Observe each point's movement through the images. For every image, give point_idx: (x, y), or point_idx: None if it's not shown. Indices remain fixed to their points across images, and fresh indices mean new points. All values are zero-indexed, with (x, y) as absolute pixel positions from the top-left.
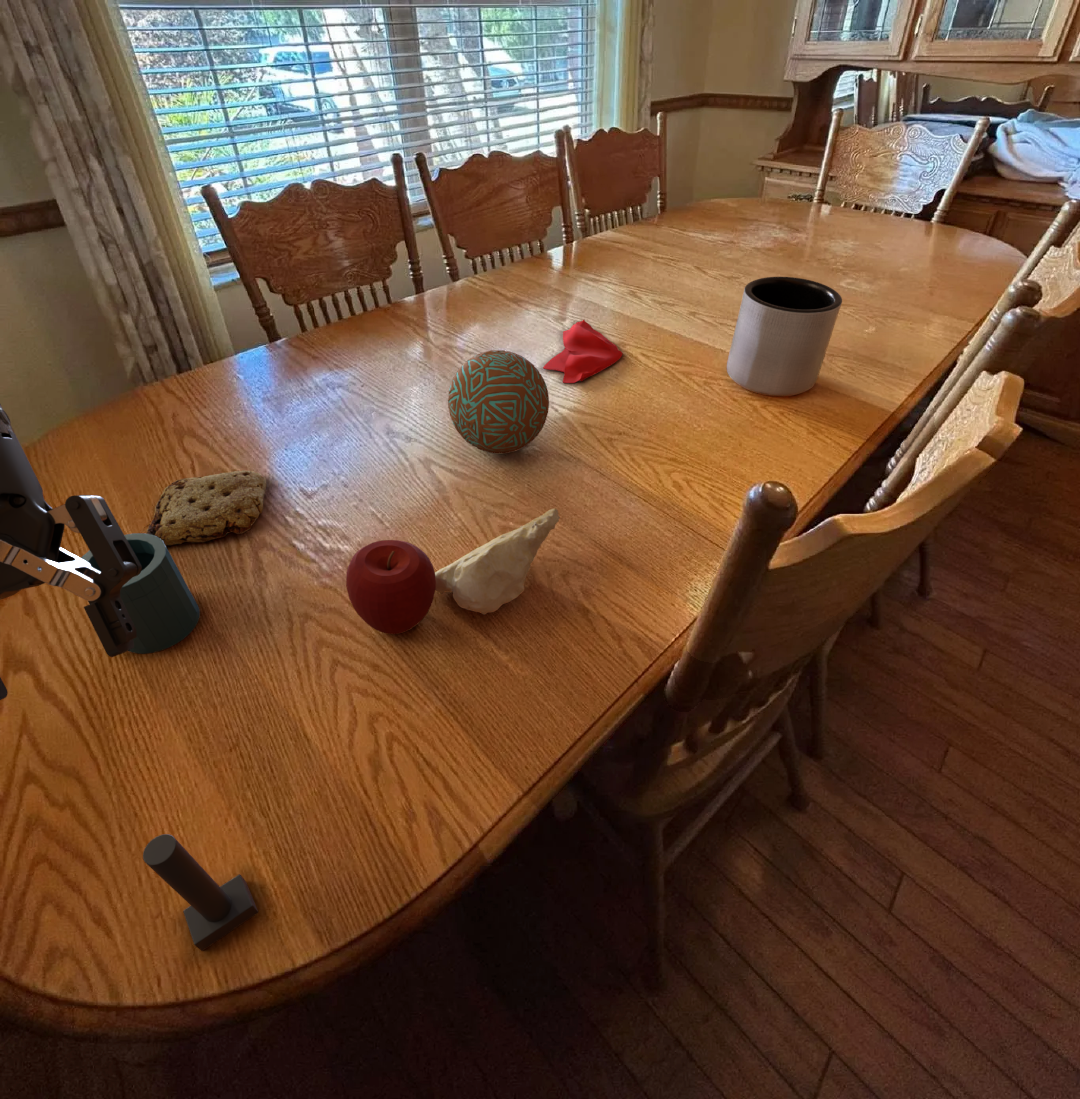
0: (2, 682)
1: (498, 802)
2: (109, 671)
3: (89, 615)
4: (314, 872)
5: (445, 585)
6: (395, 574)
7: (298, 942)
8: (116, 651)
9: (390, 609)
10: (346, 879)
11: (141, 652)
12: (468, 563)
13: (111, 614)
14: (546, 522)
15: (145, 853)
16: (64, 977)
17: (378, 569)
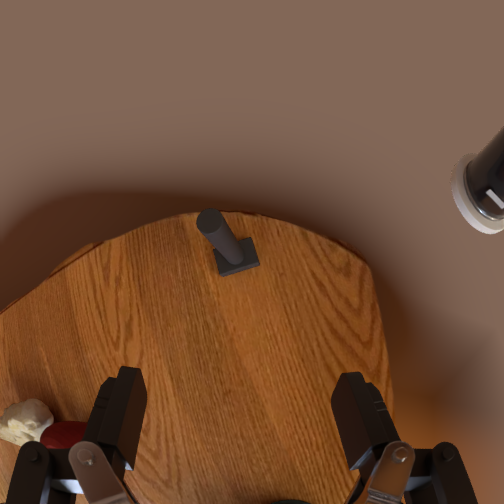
0: (334, 416)
1: (76, 268)
2: (328, 492)
3: (118, 429)
4: (179, 266)
5: None
6: (52, 445)
7: (195, 226)
8: (122, 366)
9: (70, 427)
10: (161, 254)
11: (302, 501)
12: (19, 423)
13: (95, 417)
14: None
15: (220, 220)
16: (336, 254)
17: None
